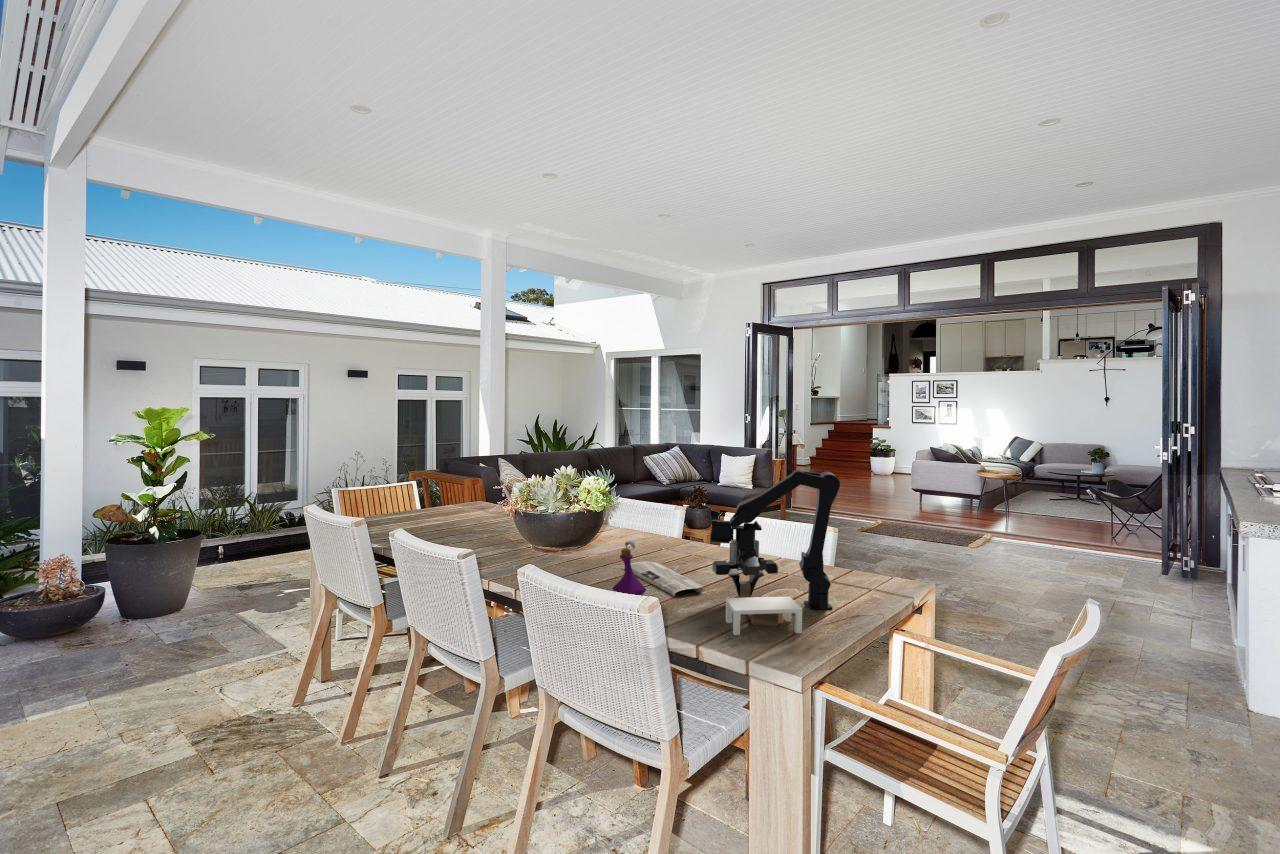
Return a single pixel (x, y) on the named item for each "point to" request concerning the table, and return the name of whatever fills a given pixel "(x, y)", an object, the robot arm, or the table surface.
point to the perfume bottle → (629, 575)
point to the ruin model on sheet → (733, 550)
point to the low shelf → (762, 609)
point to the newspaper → (665, 577)
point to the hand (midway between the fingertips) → (744, 595)
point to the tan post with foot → (757, 618)
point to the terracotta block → (780, 617)
